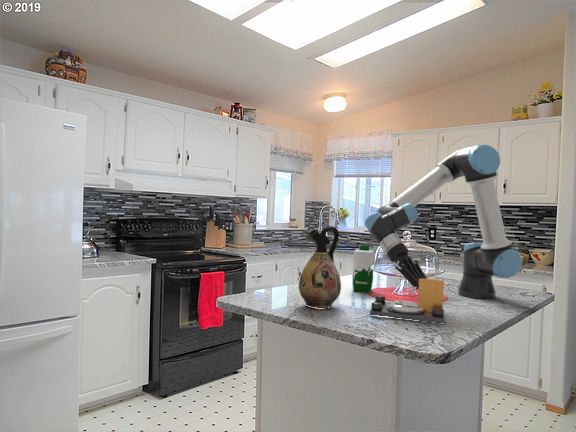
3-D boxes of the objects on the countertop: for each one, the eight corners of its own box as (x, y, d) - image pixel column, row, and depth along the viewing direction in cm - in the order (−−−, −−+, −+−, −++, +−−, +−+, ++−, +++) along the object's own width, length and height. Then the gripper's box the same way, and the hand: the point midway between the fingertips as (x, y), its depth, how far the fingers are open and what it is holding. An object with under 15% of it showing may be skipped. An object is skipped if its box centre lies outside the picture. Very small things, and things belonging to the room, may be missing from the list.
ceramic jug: (305, 313, 152) (308, 226, 151) (293, 302, 167) (295, 224, 166) (351, 311, 156) (354, 227, 155) (335, 301, 171) (337, 224, 170)
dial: (384, 311, 148) (386, 278, 148) (388, 303, 161) (389, 273, 160) (442, 317, 142) (444, 283, 142) (441, 308, 155) (443, 277, 154)
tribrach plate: (442, 312, 158) (442, 301, 158) (444, 324, 142) (444, 311, 142) (375, 306, 165) (375, 294, 165) (369, 316, 149) (370, 304, 149)
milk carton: (373, 290, 197) (375, 245, 196) (371, 293, 188) (372, 247, 188) (353, 288, 199) (355, 244, 199) (350, 292, 191) (352, 246, 190)
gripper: (397, 253, 169) (435, 305, 158) (378, 255, 160) (417, 310, 149) (410, 241, 165) (450, 292, 154) (391, 242, 156) (433, 297, 145)
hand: (434, 301), depth 151 cm, fingers closed
